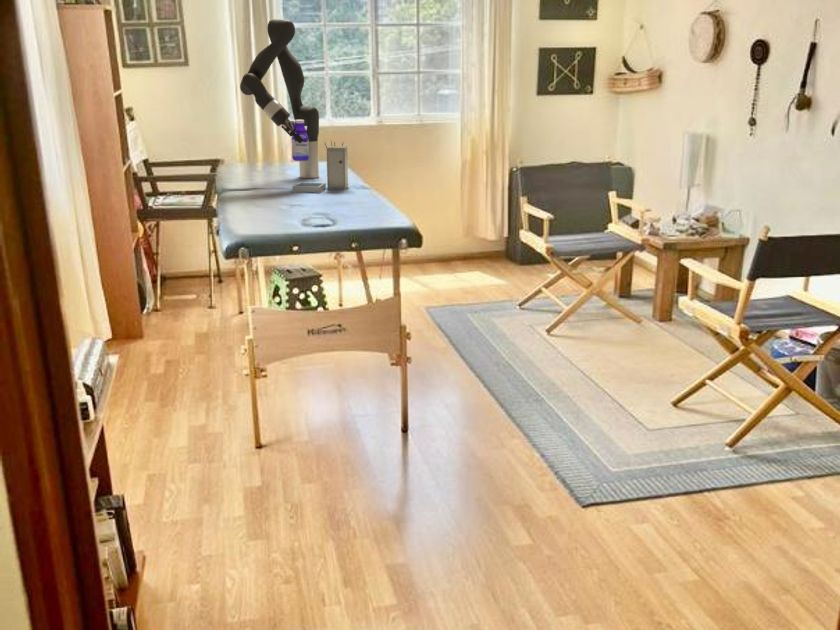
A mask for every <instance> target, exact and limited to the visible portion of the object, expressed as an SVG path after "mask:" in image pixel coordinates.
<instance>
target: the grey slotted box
mask: <svg viewBox="0 0 840 630" xmlns="http://www.w3.org/2000/svg"><path fill="white" fill-rule="evenodd" d="M348 167H349V166H348V146H336V145H335V146H334V145H330V146H327V148H326V172H327V173H326V176H327V178H326V179H327V181H326V187H327V190H343V189H346V188H347V187H348V188H349V177H348V176H349V174H348V172H349V169H348ZM348 188H347V189H348ZM347 189H346V190H347Z"/></svg>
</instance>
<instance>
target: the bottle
mask: <svg viewBox="0 0 840 630" xmlns="http://www.w3.org/2000/svg"><path fill="white" fill-rule="evenodd" d="M294 122H295V126H294V128H295V131H296V132H297V134H298V135H299V136H300V137H301V138H302V139H303V141H302V142H301V143H299V142H298V141H297V140H296V139H295V138H294V137H292V136H291V156H292V160H293V161H295V162H299V161H307V160H308V159H309V139H308V136H307V134H306V130H307V128H306V126H304V120H294Z"/></svg>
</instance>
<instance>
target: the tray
mask: <svg viewBox="0 0 840 630" xmlns="http://www.w3.org/2000/svg"><path fill="white" fill-rule="evenodd" d="M326 187H327V182H297V183H296V184H294V185H292V186H291V188H292V192H291V193H304V192H321V191H322V192H324V191H325V190H327V188H326ZM324 189H325V190H324ZM322 192H321V193H322Z"/></svg>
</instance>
